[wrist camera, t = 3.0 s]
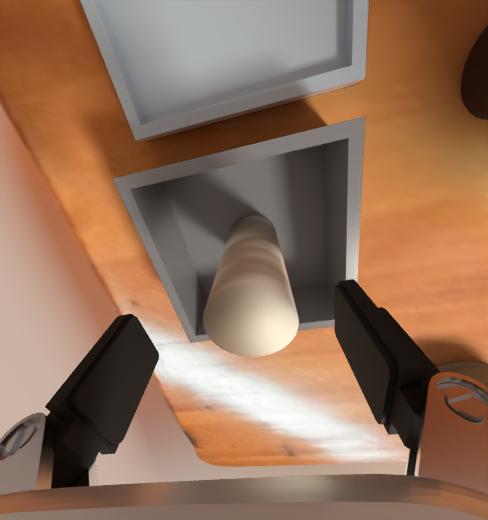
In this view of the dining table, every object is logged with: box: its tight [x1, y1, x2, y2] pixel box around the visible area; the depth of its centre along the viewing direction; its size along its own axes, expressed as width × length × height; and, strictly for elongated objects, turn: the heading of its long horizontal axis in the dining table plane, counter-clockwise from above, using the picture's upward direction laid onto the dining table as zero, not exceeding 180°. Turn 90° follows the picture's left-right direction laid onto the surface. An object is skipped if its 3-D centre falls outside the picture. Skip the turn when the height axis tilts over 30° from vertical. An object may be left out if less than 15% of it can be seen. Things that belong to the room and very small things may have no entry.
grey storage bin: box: [113, 116, 365, 343], centre depth 17 cm, size 15×15×6 cm
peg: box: [203, 214, 299, 357], centre depth 14 cm, size 4×4×11 cm
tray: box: [80, 0, 369, 141], centre depth 12 cm, size 16×11×2 cm
